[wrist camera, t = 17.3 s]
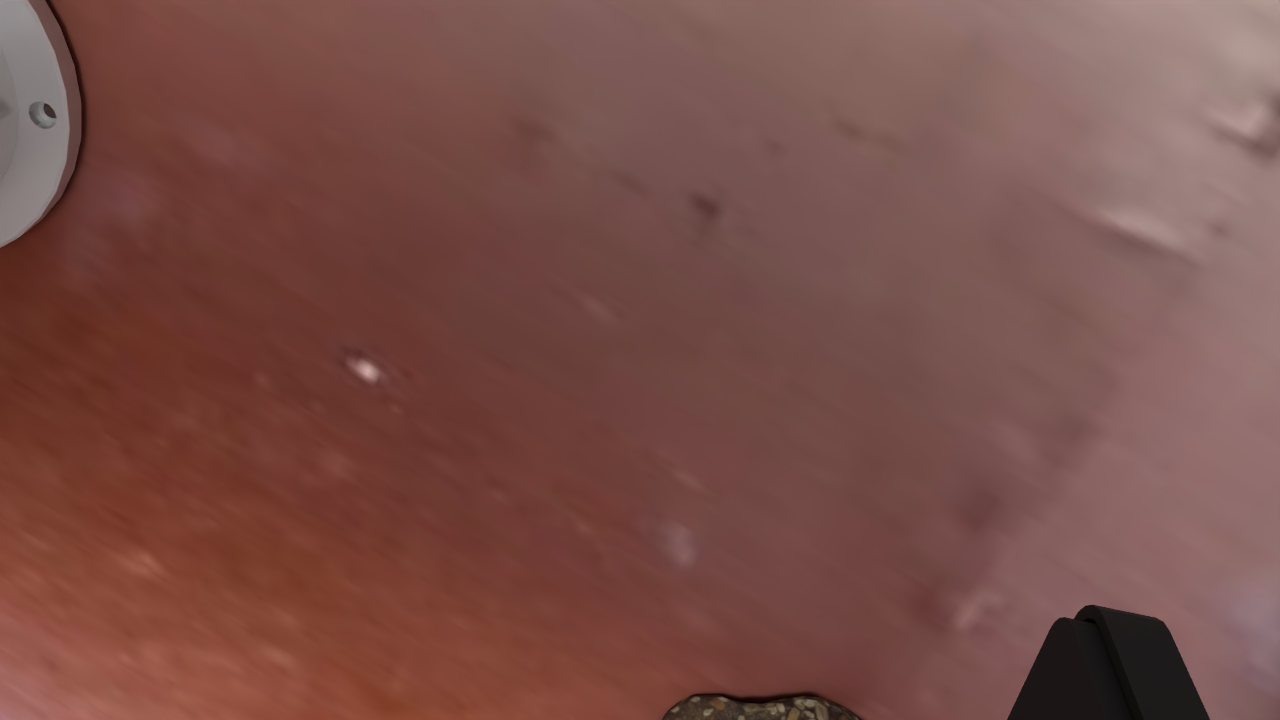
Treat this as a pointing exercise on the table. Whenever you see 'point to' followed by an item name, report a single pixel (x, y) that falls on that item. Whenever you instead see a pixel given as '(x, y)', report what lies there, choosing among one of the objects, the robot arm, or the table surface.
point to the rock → (757, 709)
